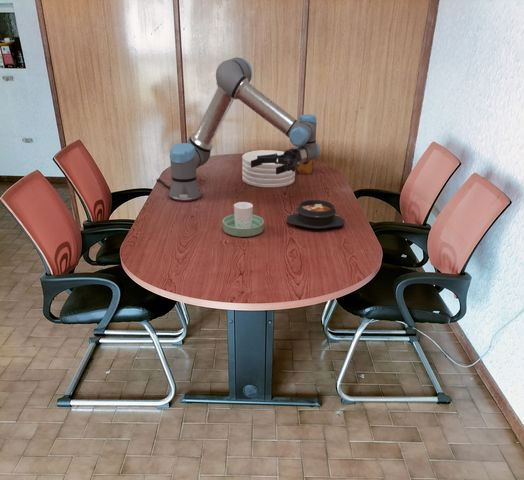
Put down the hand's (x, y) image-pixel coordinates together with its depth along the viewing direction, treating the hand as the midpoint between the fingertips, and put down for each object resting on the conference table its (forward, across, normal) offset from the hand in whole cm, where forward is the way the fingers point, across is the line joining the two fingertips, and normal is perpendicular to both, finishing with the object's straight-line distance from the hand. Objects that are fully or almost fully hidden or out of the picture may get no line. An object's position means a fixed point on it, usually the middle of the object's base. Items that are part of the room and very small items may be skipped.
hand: (263, 167), depth 217 cm
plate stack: (-46, +35, -24) cm, 63 cm away
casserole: (-10, -21, -22) cm, 32 cm away
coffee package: (-72, +30, -24) cm, 81 cm away
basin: (+16, -2, -22) cm, 27 cm away
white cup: (+16, -2, -22) cm, 27 cm away
